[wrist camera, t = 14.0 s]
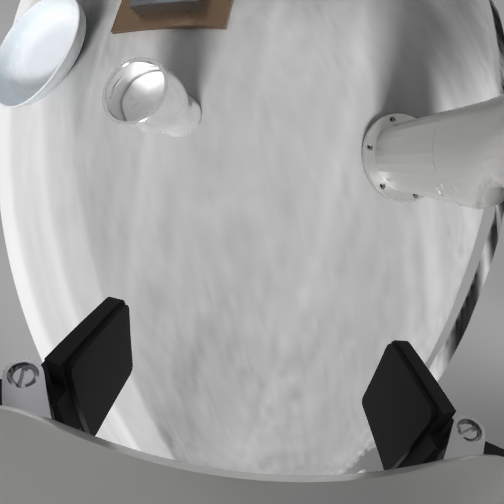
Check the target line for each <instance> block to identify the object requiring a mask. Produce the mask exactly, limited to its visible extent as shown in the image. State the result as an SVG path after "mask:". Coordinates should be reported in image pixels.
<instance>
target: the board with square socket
mask: <svg viewBox="0 0 504 504" xmlns="http://www.w3.org/2000/svg"><path fill="white" fill-rule="evenodd" d="M232 3H233V0H122V2H121V5H120V7H119V10H118V13H117V15H116V18H115V21H114V24H113V27H112V30H111V32H112V33H113V34H117V33H124V32H133V31H142V30H155V29H175V28H210V29H226V28H227V24H228V19H229V15H230V11H231V7H232Z"/></svg>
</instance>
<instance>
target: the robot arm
mask: <svg viewBox="0 0 504 504" xmlns="http://www.w3.org/2000/svg"><path fill="white" fill-rule="evenodd" d="M390 119H391V121H390ZM367 146H369V149H368V148H367ZM362 159H363V166H364V169H365V172H366V174H367V176H368V178H369V180H370V182H371V183H372V185H373V186H374V187H375V189H377V190H378V191H379V192H380V193H381V194H382V195H384V196H385V197H387V198H389V199H392V200H394V201H398V202H413V201H417V200H419V199H421V198H423V197H424V196H426V197H430V198H435V199H439V200H443V201H447V202H451V203H454V204H458V205H462V206H466V207H470V208H475V209H487V208H491V207H493V206H496V205H498V204H499V203H501V202H502V201H504V94H502V95H500V96H498V97H495V98H492V99H490V100H487V101H484V102H480V103H476V104H473V105H469V106H465V107H461V108H456V109H452V110H448V111H444V112H440V113H436V114H432V115H428V116H424V117H420V118H415V117H412V116H410V115H407V114H403V113H394V114H389V115H386V116H383V117H381V118H380V119H378V120H377V121H375V122H374V123H373V124H372V125H371V127H370V128H369V130H368V131H367V133H366V136H365V138H364V142H363V147H362ZM380 184H381V185H382V186H381V187H380ZM413 194H414V196H413ZM132 367H133V363H132V351H131V337H130V318H129V307H128V305H125V302H124V301H123V300H120V299H116V298H112V297H108V298H106V299H105V300H104V301H103V302H102V303H101V304H100V305H99V306H98V307H97V308H96V309H95V310H94V311H92V312H91V313H90V314H89V315H88V316H87V317H86V318H85V319H84V320H83V321H82V322H81V323H80V324H79V325H78V326H77V327H76V328H75V329H74V330H73V331H72V332H71V333H70V334H69V335H68V336H67V337H66V338H65V339H63V340H62V341H61V342H60V343H59V344H58V345H57V346H56V347H55V348H54V349H53V351H52V352H51V353H50V354H49V355H48V356H47V357H46V358H45V361H44V362H43V363H42V364H41V365H40V364H39V363H37V362H36V361H33V360H30V359H20V360H16V361H14V362H12V363H10V364H9V365H8V366H7V367H6V368H5V369H4V371H3V375H2V379H0V504H504V449H502V448H499V447H497V446H495V445H493V444H490V443H488V442H486V441H485V430H484V428H483V426H482V425H481V423H480V422H478V421H477V420H476V419H474V418H472V417H468V416H460V417H458V418H457V419H455V420H453V418H452V417H453V415H454V414H455V412H456V410H455V409H454V407H453V406H452V404H451V402H450V401H449V399H448V398H447V396H446V395H445V393H444V392H443V390H442V389H441V387H440V386H439V384H438V383H437V381H436V380H435V378H434V377H433V376H432V374H431V373H430V371H429V370H428V368H427V367H426V366H425V364H424V363H423V361H422V360H421V358H420V357H419V356H418V354H417V353H416V351H415V350H414V349H413V347H412V346H411V344H410V343H409V342H408V341H397V340H394V341H393V342H392V343H391V344H388V345H387V347H386V349H385V351H384V354H383V356H382V358H381V361H380V363H379V365H378V367H377V369H376V371H375V374H374V376H373V378H372V380H371V382H370V384H369V386H368V388H367V390H366V392H365V394H364V396H363V399H362V405H363V408H364V411H365V414H366V417H367V420H368V423H369V425H370V428H371V431H372V434H373V437H374V440H375V443H376V446H377V449H378V452H379V455H380V458H381V462H382V464H383V468H384V470H383V471H376V472H367V473H356V474H342V475H317V476H297V475H272V474H258V473H247V472H238V471H230V470H223V469H216V468H210V467H204V466H199V465H194V464H189V463H184V462H179V461H175V460H170V459H166V458H162V457H158V456H155V455H151V454H147V453H144V452H141V451H137V450H134V449H131V448H128V447H125V446H121V445H118V444H115V443H112V442H109V441H106V440H104V439H101V438H98V437H95V435H96V434H97V432H98V430H99V428H100V426H101V425H102V423H103V421H104V419H105V417H106V416H107V414H108V412H109V410H110V409H111V407H112V405H113V403H114V402H115V400H116V398H117V396H118V395H119V393H120V391H121V389H122V388H123V386H124V384H125V382H126V381H127V379H128V377H129V376H130V374H131V371H132Z"/></svg>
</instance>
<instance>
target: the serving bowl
mask: <svg viewBox="0 0 504 504" xmlns="http://www.w3.org/2000/svg"><path fill="white" fill-rule="evenodd" d="M85 33H86V17H85V13H84V10H83V8H82V6H81V5H80V3H79V2H78V1H77V0H40V1H39V2H37V3H36V4H34V5H33V6H32V7H30V8H29V9H28V10H27V11H26V12H25V13H24V14H23V15H22V16H21V17H20V18H19V19H18V20H17V21H16V23H15V24H14V25H13V26H12V28H11V29H10V31H9V32H8V34H7V35H6V38H5V39H4V41H3V43H2V45H1V47H0V104H1V105H2V106H4V107H7V108H17V107H23V106H27V105H30V104H32V103H34V102H37V101H38V100H40V99H42V98H43V97H45V96H46V95H47V94H49V93H50V92H51V91H52V90H53V89H54V88H55V87H56V86H57V85H58V84H59V83H60V82H61V81H62V80H63V79H64V77H65V76H66V75H67V73H68V72H69V71H70V69H71V68H72V66H73V64H74V63H75V61H76V59H77V57H78V55H79V53H80V50H81V48H82V45H83V42H84V38H85Z"/></svg>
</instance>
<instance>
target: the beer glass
mask: <svg viewBox="0 0 504 504" xmlns="http://www.w3.org/2000/svg"><path fill="white" fill-rule="evenodd" d="M102 104H103V108H104V111H105V113H106V114H107V116H108V117H109V118H110V119H111V120H112V121H114V122H115V123H118V124H121V125H123V126H125V127H128V128H130V129H133V130H136V131H139V132H145V133H160V132H164V133H165V134H166V135H168V136H171V137H183V136H186V135H188V134H190V133H191V132H193V131H194V130H195V129H196V127H197V126H198V124H199V122H200V119H201V109H200V106H199V104H198V102H197V101H196V100H195V99H194V98H192V97H190V96H188V95H187V92H186V90H185V88H184V86H183V84H182V82H181V81H180V80H179V79H178V77H177V76H176V75H175V74H174V73H172V72H171V71H170V70H169V69H167V68H166V67H164V66H163V65H161V64H160V63H159V62H157V61H156V60H153V59H151V58H145V57H141V58H134V59H131V60H129V61H126V62H125V63H123V64H121V65H120V66H119V67H118V68H116V69H115V70H114V71H113V73H112V74H111V75H110V76H109V78H108V80H107V82H106V84H105V86H104V89H103V94H102Z"/></svg>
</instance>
